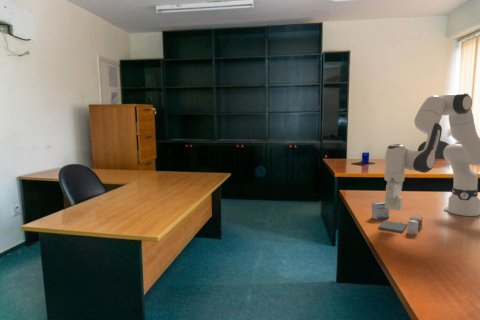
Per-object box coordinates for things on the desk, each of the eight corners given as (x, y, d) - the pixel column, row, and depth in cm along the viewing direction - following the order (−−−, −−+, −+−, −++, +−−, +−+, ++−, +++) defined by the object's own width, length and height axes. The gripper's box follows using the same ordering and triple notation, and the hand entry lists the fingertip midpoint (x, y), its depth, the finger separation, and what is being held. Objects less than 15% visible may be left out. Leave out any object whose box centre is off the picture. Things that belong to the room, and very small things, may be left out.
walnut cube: (411, 225, 167) (411, 215, 166) (422, 227, 164) (422, 217, 163) (409, 228, 163) (409, 218, 162) (420, 229, 160) (421, 220, 159)
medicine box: (376, 220, 177) (377, 204, 176) (371, 217, 181) (371, 202, 180) (388, 218, 179) (389, 203, 178) (383, 216, 183) (383, 201, 182)
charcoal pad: (383, 222, 172) (383, 220, 172) (406, 226, 166) (407, 224, 166) (378, 228, 163) (378, 226, 163) (402, 232, 156) (402, 230, 156)
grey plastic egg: (408, 231, 159) (408, 219, 158) (418, 232, 156) (418, 220, 155) (406, 233, 155) (407, 221, 154) (416, 235, 152) (417, 223, 152)
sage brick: (386, 206, 167) (387, 195, 166) (401, 208, 163) (402, 196, 162) (384, 208, 163) (385, 196, 163) (400, 210, 159) (400, 198, 159)
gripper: (397, 181, 151) (395, 210, 153) (405, 174, 167) (404, 200, 169) (382, 179, 155) (381, 208, 156) (391, 173, 171) (390, 199, 173)
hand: (393, 204), depth 163 cm, fingers closed on sage brick, 4 cm apart
